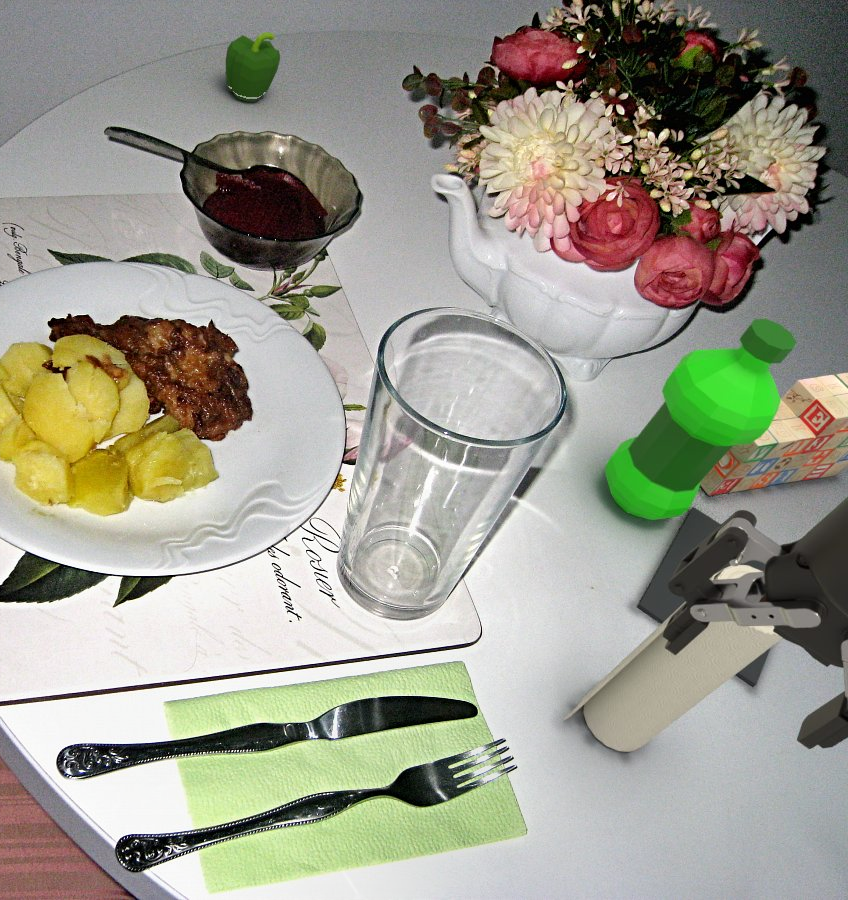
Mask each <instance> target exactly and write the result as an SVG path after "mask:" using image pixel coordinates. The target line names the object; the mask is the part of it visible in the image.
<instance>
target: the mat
mask: <svg viewBox="0 0 848 900" xmlns="http://www.w3.org/2000/svg"><path fill="white" fill-rule="evenodd" d="M721 524H722V523H719V521H716V520H715V519H713V518H712V517H710V516H708V515H707V514H706V513H704V512H702V511H701V510H699V509H697V508H696V507H695V506H693V507H691V508H690V510H689V511H688V514H687V515H686V518H685V519H684V521H683V523H682V525H681V527H680V528H679V530H678V532H677V534H676V536H675V537H674V539H673V541H672V543H671V545H669V548H668V550H667V552H666V553H665V555H664V557H663V559H662V561H661V562H660V564H659V566H658V568H657V570H656V572H655V574H654V576H653V577H652V579H651V581H650V583H649V584H648V587H647V588H646V590H645V592H644V593H643V596H642V597H641V599H640V601H639V603H638V605H637V608H638V609H639V610H641V611H643V612H644V613H645V614H647V615H649V616H650V617H651V618H653V619H654V620H656V622H658V623H660V625H661V624H662V623H663V622H664V621H665V620H666V619H667V618H668V617H670V616H671V615H672V614H673V613H674V612H675V611H676V610H677V609H678V608H679V607H680V606H681V605H682V604H683V603H684V602H686V600H685V599H684V598H683V597H680V596H676V595H674V594H673V593H672V592H671V591H670V590H669V588H668V584H669V582H670V580H671V578H672V576H673V574H674V572H675V571H676V569H677V567H678V565H679V563H680V562H681V560H682V558H683V557H684V556H685V555H687V554H688V553H689V552H690V551H691V550H692V549H693V548H695V547H696V546H697V545H698V544H699V543H700V542H701V541H703V540H704V539H705V538H706V537H707V536H708V535H710V534H711V533H712V532H713V531H714V530H715V529H716V528H718V527H719V526H720V525H721ZM739 565H748V566H750V567H753V568H755V569H758V570H760V571H763V572H764V567H765V564H763V563H761V562H759V561H749V562H747V563H745V564H739ZM729 566H732V565H730V563H729V562H728V563H727V564H726V565H725V566H723V567H722V568H721V569H720V570H718V571H717V572H716V573H718V572H719V571H721V570H723V569H725V568H727V567H729ZM716 573H715V574H716ZM715 574H714V575H715ZM712 576H713V575H712ZM712 576H711V577H712ZM711 577H710V578H711ZM710 578H709V579H710ZM771 648H772V647H770V648H769V649H768V650H766V651H765V652H764V653H763V654H761V655H760V656H759V657H757V658H756V659H755V660H753V661H752V662H751V663H750V664H748V665H747V666H746V667H744V668H743V669H742V670H741V671H739V672H738V673H737V674H735V675H734V676H737V677H738V678H740V679H741V680H743V681H744V682H746V683H747V684H748V685H750V686H751V687H753V688H754V687H756V686H757V684H758V681H759V680H760V679H759V678H760V677H761V673H762V672H763V668H764V666H765V664H766V661H767V658H768V656H769V653H770V650H771Z"/></svg>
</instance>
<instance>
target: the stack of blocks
mask: <svg viewBox="0 0 848 900" xmlns="http://www.w3.org/2000/svg"><path fill="white" fill-rule="evenodd" d="M780 400H781V402H780V405H779V408H778V411H777V413H776V415H775V417H774V419H773V421H772V423H771V425H770V427H769V428H768V429H767V430H766V432H765V433H764V434H763V435H762V436H761V437H760V438H758V439H756V440H755V441H753V442H752V443H750V444H743V445H733V446H732V448H731V449H730V450H729V451H728V452H727V453H726V454H725V455H724V456H723V457H722V458H721V460H720V461H719V462H718V463H717V464H716V465H715V466H714V467H713V468H712V469H711V470H710V472H709V473H708V474H707V475H706V476H705V477H704V478H703V479H702V480H701V483H700V487H701V488H702V489H703V490H704V491H705V493H706V494H707V495H708V496H710V497H711V496H715V495H716V496H717V495H720V494H721V495H722V494H725V493H730V494H731V493H736V492H742V491H746V490H754V489H760V488H765V487H770V486H776V485H782V484H786V483H793V482H798V481H808V480H815V479H819V478H827V477H834V476H837V475H839V473H841V472H842V471H843V469H845V468H846V467H847V466H848V372H842V373H837V374H828V375H827V374H826V375H821V376H816V377H808V378H803V379H797V381H795V383H794V384H792V386H791V387H790V388H789V389H788V390H787V391H786V392H785V393H784V394H783V395H782V396H781V397H780Z"/></svg>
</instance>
